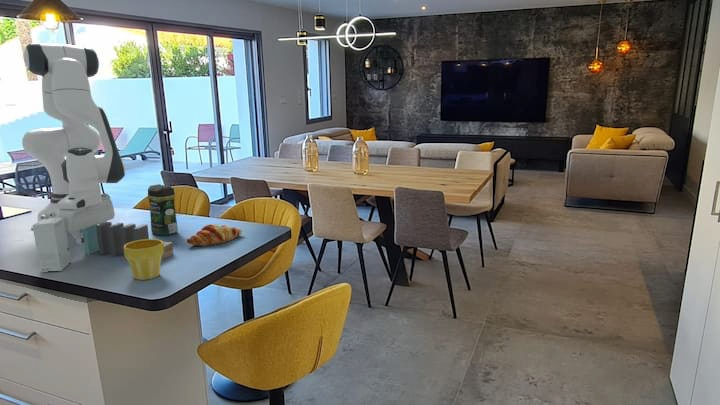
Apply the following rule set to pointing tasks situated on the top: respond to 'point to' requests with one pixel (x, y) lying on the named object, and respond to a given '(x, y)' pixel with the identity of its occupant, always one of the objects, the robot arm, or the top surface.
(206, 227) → the croissant
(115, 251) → the domino
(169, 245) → the end block
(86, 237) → the domino
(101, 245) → the domino
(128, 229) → the domino
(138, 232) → the domino
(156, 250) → the plant pot
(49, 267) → the skincare box
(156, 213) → the coffee jar
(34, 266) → the top surface
